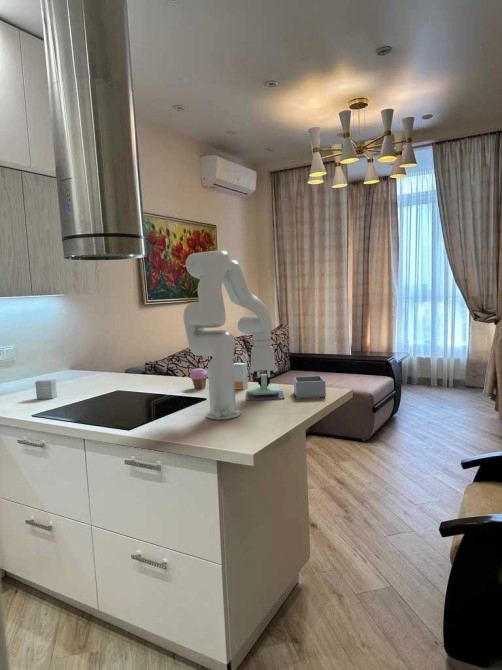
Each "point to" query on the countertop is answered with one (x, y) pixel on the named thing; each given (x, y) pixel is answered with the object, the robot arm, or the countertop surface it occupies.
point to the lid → (264, 387)
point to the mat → (264, 396)
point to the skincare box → (240, 375)
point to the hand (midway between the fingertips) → (264, 385)
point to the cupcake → (199, 378)
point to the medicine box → (46, 389)
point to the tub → (309, 387)
